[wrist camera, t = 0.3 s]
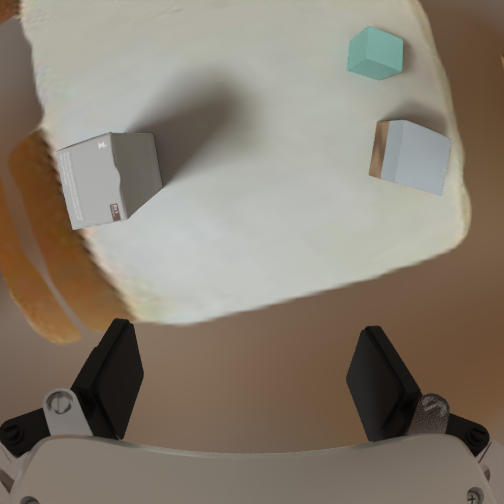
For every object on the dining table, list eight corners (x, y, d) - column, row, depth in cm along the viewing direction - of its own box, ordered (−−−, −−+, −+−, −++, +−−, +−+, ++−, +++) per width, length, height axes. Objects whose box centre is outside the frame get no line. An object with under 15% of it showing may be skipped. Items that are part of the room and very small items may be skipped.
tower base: (376, 122, 36) (388, 121, 32) (419, 136, 36) (434, 137, 33) (367, 174, 39) (379, 178, 35) (411, 185, 39) (425, 190, 35)
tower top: (389, 120, 32) (404, 119, 28) (434, 137, 33) (451, 138, 29) (380, 178, 35) (394, 182, 31) (425, 190, 35) (441, 196, 32)
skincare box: (113, 142, 35) (48, 148, 21) (160, 131, 35) (110, 126, 20) (123, 199, 38) (65, 233, 24) (169, 191, 38) (127, 221, 24)
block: (349, 41, 31) (368, 26, 24) (380, 51, 31) (403, 39, 25) (346, 70, 33) (366, 58, 26) (378, 80, 33) (401, 71, 27)
